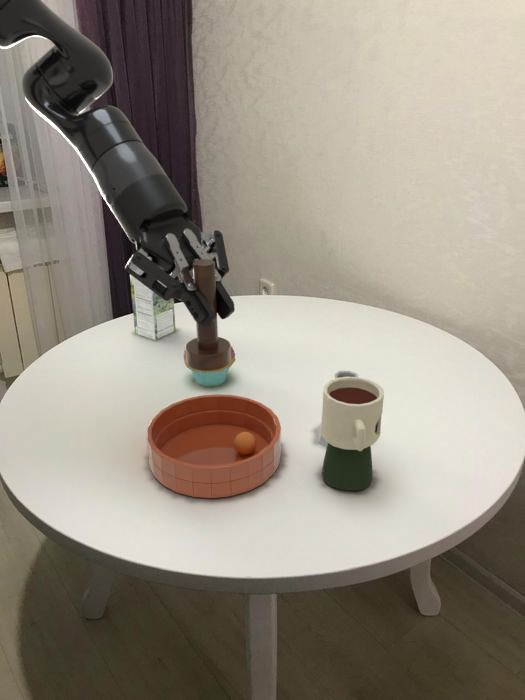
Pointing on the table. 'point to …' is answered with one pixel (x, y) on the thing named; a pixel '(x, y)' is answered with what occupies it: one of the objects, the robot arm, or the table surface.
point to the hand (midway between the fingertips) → (219, 318)
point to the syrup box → (151, 311)
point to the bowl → (213, 445)
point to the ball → (245, 443)
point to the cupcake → (211, 373)
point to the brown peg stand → (207, 346)
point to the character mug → (350, 430)
